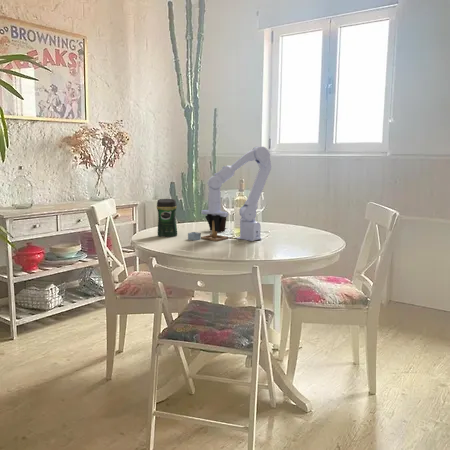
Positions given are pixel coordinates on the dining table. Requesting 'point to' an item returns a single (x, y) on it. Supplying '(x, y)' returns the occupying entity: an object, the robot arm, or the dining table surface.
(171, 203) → the coffee jar
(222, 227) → the coffee mug
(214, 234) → the dowel
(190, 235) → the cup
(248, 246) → the dining table surface
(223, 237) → the tray
